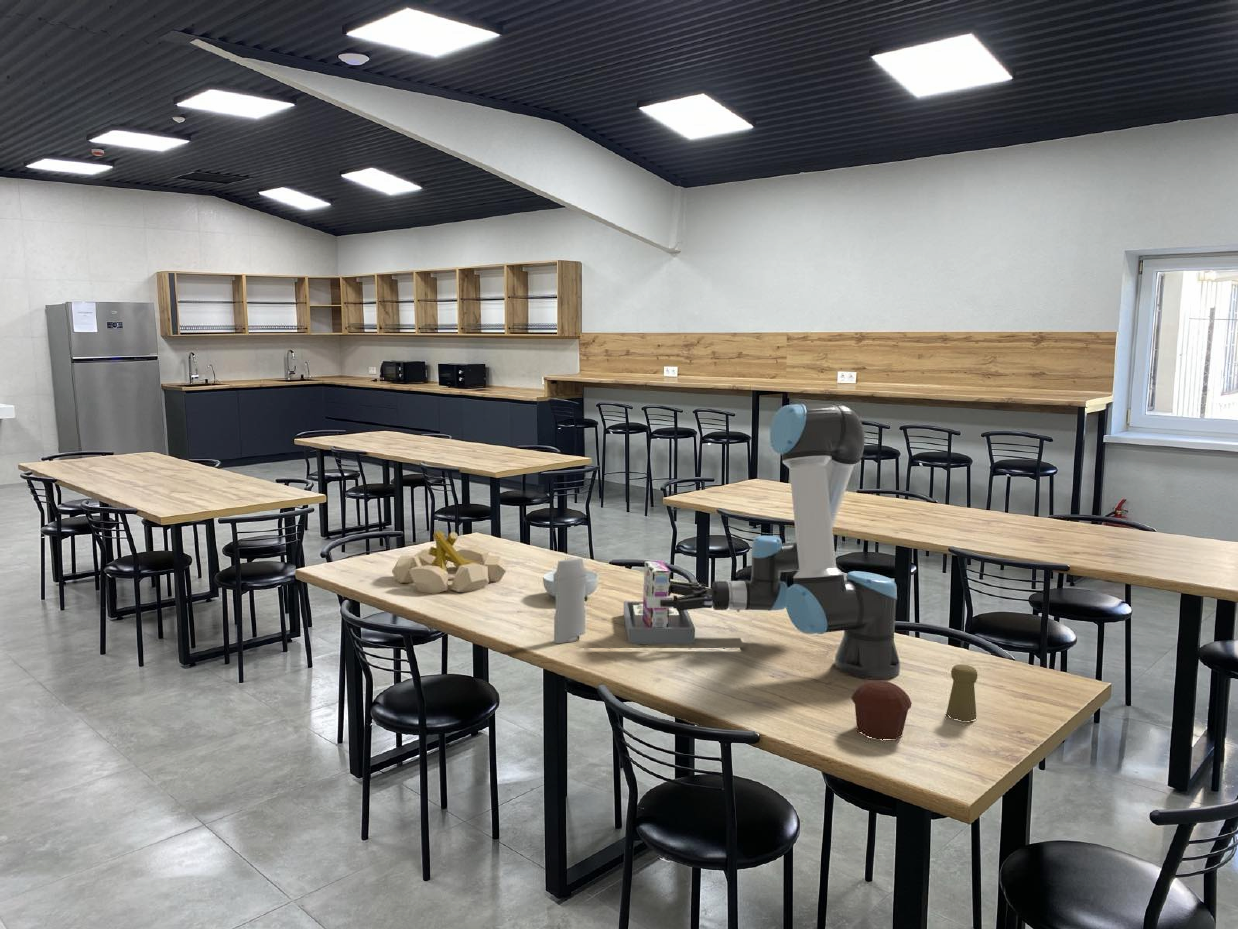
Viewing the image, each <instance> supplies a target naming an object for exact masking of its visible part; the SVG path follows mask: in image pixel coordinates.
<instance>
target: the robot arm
mask: <svg viewBox="0 0 1238 929" xmlns="http://www.w3.org/2000/svg"><path fill="white" fill-rule="evenodd" d="M769 440H770V445H771V447H772V450H773V452H775V453H777V454H779V455H781V460H782V464H783V465H785V466H786V467H787V468H788V469H789V478H790V488H791V499H792V500H791V501H792V510H793V518H794V519H793V521H794V530H795V532H794V533H795V540H796V541H795V542H783V543H782V539H781V537H778V536H774V535H758V536H756V537H755V538H754V539H753V540H752V546H751V576H750V581H746V580H745V581H744V580H730V581H729V582H728V581H727V580H726V581H725V580H724V581H723V580H719V581H718V580H716V581H713V582H712V586H711V587H706V584H705V583H693V582H683V581H674V580H670V595H671V594H673V596H670V597H648V596H647V608H674V609H676V610H677V611H682V610H687V611H689V610H697V609H713V610H714V611H727V610H728V609H729V610H730V611H736V612H738V613H740V612H741V611H768V612H769V611H770V612H771V611H782V610H785V609H786V613H787V616H788V618H789V620H790V622H791V623H792V624H793V626H794V627H795V628H796V629H797V630H798V631H799V632H801V633H803V634H805V635H814V634H815V635H816V634H817V635H823V634H825V633H834V632H843V636H842V638H841V641H840V644H839V646H838V648H837V651H836V652H835V653H836V654H835V658H834V659H835V660H834V666H835V668H836V669H837V670H838V671H840V672H842V673H843V674H846V675H848V674H849V676H852V677H856V678H860V679H866V678H868V679H867V680H887V679H892V678H895V677H896V676H898V675H899V674H900V673H901V672H900V671H901V660H900V658H899V654H898V650H897V646H896V644H895V628H896V627H895V626H896V625H895V624H896V610H897V600H898V597H897V596H898V595H897V594H898V593H897V591H898V590H897V588H898V587H897V584H896V582H895V581H894V580H893V579H892V578H890V577H887V576H884V575H881V574H878V573H873V572H867V571H859V570H857V571H856V570H853V571H849V572H847V575H846V576H844V575H845V574H844V572H842V571H841V569H839V568H838V566H837V562H836V554H835V553H836V551H835V542H834V533H833V528H834V524H835V521H836V519H837V516H838V513H839V510H840V507H841V504H842V502H843V498H844V497H845V493H846V491H847V490H846V489H847V487H848V484H849V481H850V478H851V475H852V473H853V469H854V467H855V465H856V466H857V465H858V464H859V463H860V462H861V461H862V460H861V459H862V456H863V454H864V448H865V441H866V437H865V429H864V426H863V424H862V421H861V419H860V417H859V416H858V415H857V414H856V412H855V411H853V410H852V409H851V408H849V407H848V406H846V405H843V404H840V403H829V404H826V403H795V404H787V405H783V406H782V407H781V408H779V409H778V410H777V411H776V413H775V414H774V417H773V418H772V421H771V424H770V431H769ZM795 571H796V572H795ZM786 572H795V574H794V575H793V580H792V581H793V584H791V585H790V586H789V587H788V585H787V582H785V581H781V573H786ZM845 578H846V580H845ZM642 589H643V592H642V594H643V595H644V587H643V588H642ZM677 595H678V596H677Z"/></svg>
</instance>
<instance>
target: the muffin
mask: <svg viewBox="0 0 1238 929" xmlns="http://www.w3.org/2000/svg"><path fill="white" fill-rule="evenodd" d="M850 700H851V701H852V702H853V704H854V710H855V719H856V720H855V723H856V728H857V727H858V728H857V731H859V732H862V733H863V734H865V735H866V736H869V737H872V738H876V739H882V740H883V739H896V738H897V737H899V736H901V735H902V736H903V733H904V728H905V724H906V721H907V716H908V711H909V710H910V709H911V707H912V705H913V703H912V701H911V699H910V696H909V695H908V693H906V692H905V690H904V689H902V688H901V687H900V686H898V685H897V684H895V683H892V682H890V681H885V680H871V681H868V682H866V683H863V684H862V683H861V685H859V686H858V687H857V688H856V689H855V690H854V692H853V693H852V695H851V697H850ZM866 736H865V737H866ZM902 736H901V737H902ZM899 738H900V737H899ZM876 739H875V740H876ZM897 739H898V738H897ZM897 739H896V740H897Z"/></svg>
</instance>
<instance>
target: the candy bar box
mask: <svg viewBox="0 0 1238 929" xmlns="http://www.w3.org/2000/svg"><path fill="white" fill-rule="evenodd" d="M643 574H644V575H643V588H644V594H643V598H642V601H643V621H644V623H645V624H646V626H647V627H668V622H669V608H647V596H648V597H671V596H670V595H671V594H670V581H672V580H671V578H672V577H671V576H672V571H671V570H670V569H669V568H668V567H667V566H666V565H665V563H664V562H662V561H661V560H659V561H657V560H653V561H649V560H648V561H644V572H643Z"/></svg>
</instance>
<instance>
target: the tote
mask: <svg viewBox="0 0 1238 929" xmlns="http://www.w3.org/2000/svg"><path fill="white" fill-rule="evenodd" d="M639 604H643V600H642V601H636V600H634V601H630V600H629V601H628V600H627V601H626V600H625V601H623V615H622V616H623V620H624V626H625V632H626V638H627V642H628V643H627V644H628V645H641V644H642V645H645V644H646V645H657V644H658V645H661V644H662V645H667V644H668V645H693V644H696V642H695V641H696V640H695V638H696V636H695V635H696V627H695V626H694V623H693V620H692V618H691V616H690V613H689V610H682V611H678V613H679V627H635V626H634V621H633V605H639Z"/></svg>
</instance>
